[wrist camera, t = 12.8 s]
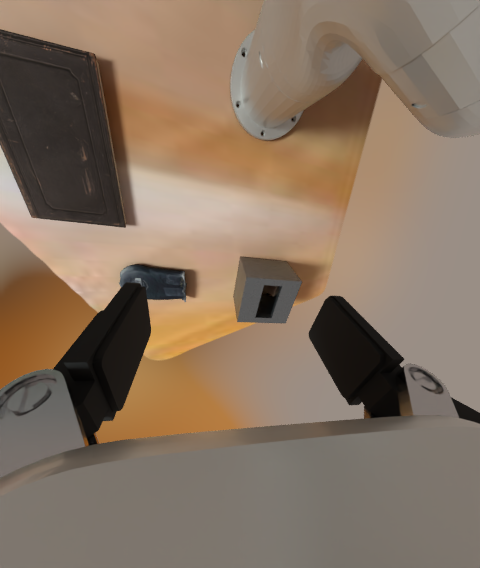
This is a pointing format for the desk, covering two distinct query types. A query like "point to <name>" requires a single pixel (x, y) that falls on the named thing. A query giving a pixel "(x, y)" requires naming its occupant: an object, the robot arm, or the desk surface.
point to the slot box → (251, 286)
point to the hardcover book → (58, 132)
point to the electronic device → (156, 281)
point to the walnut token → (271, 289)
